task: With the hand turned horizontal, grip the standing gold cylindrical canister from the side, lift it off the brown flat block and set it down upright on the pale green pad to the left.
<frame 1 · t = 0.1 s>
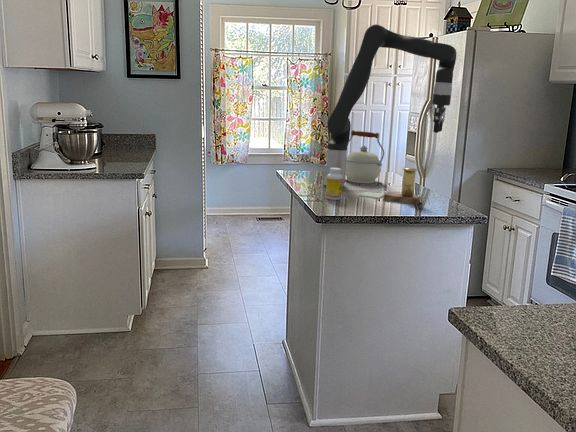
hand: (437, 131, 243), 29 cm above the counter, tool pointing down, fingers open, 8 cm apart
kettle: (358, 181, 284), on the counter
supplement bottle: (333, 199, 236), on the counter
pad: (371, 195, 247), on the counter
gold cylindrical canister: (407, 196, 237), point 2 cm above the counter, touching brown flat block
brown flat block: (401, 201, 238), on the counter
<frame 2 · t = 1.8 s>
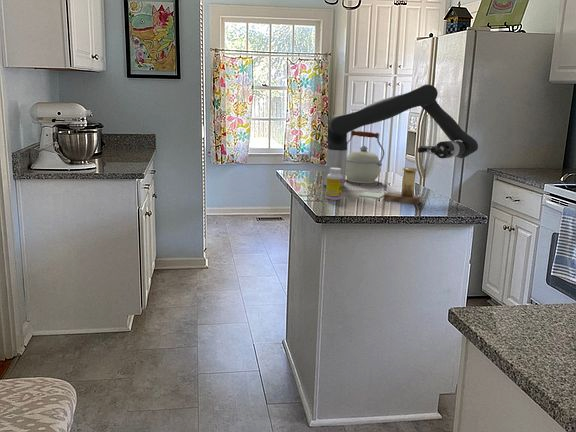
hand: (427, 151, 240), 21 cm above the counter, tool horizontal, fingers open, 8 cm apart
nothing on the counter moved.
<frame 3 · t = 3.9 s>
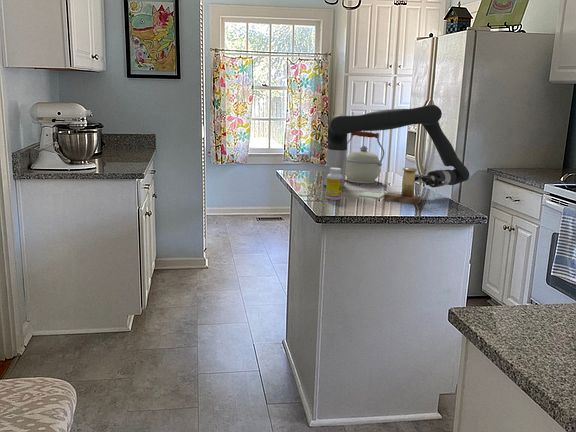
hand: (417, 181, 241), 8 cm above the counter, tool horizontal, fingers open, 8 cm apart
nothing on the counter moved.
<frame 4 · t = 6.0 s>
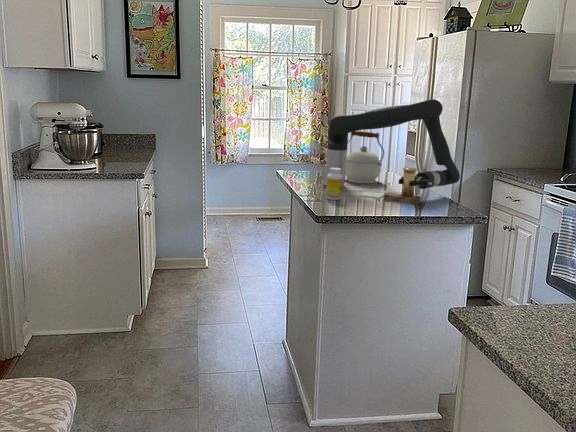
hand: (404, 182, 234), 8 cm above the counter, tool horizontal, fingers closed on gold cylindrical canister, 4 cm apart
gold cylindrical canister: (407, 196, 237), point 2 cm above the counter, touching gripper, brown flat block
everything else where it was.
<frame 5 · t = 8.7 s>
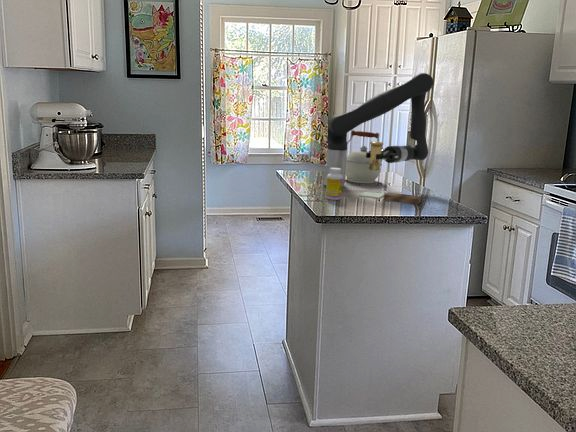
hand: (371, 156, 241), 18 cm above the counter, tool horizontal, fingers closed on gold cylindrical canister, 4 cm apart
gold cylindrical canister: (374, 169, 244), point 12 cm above the counter, touching gripper
everything else where it was.
when the fingers open (8 cm above the counter, at t = 11.3 s): gold cylindrical canister drops 1 cm, resting on pad.
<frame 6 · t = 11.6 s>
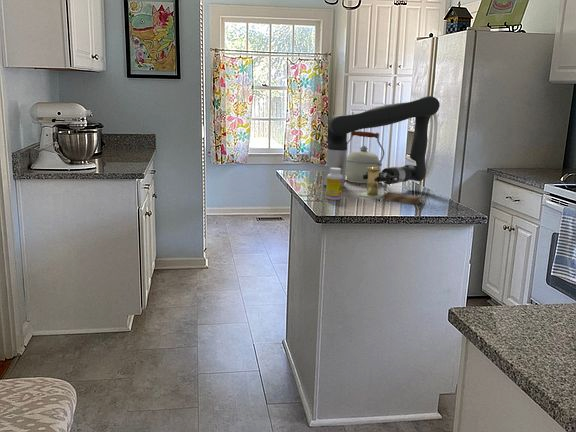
hand: (370, 178, 243), 8 cm above the counter, tool horizontal, fingers open, 7 cm apart
gold cylindrical canister: (372, 194, 246), point 1 cm above the counter, touching pad
everything else where it was.
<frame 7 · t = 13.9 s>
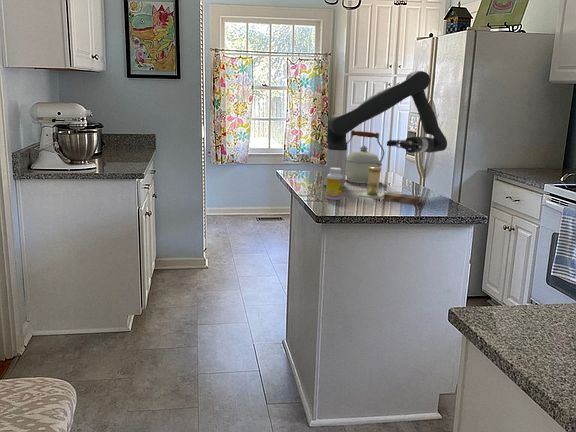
hand: (395, 144, 247), 22 cm above the counter, tool horizontal, fingers open, 8 cm apart
nothing on the counter moved.
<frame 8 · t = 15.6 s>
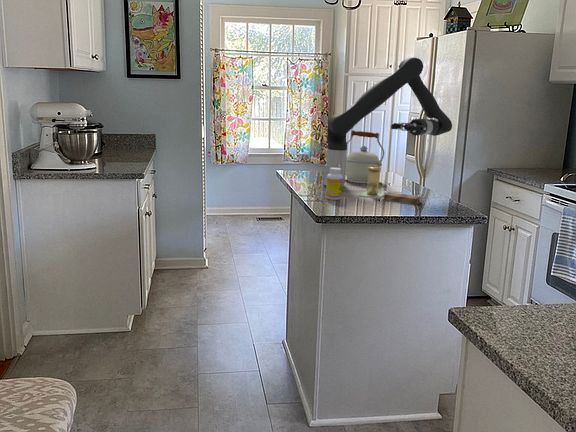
hand: (399, 127, 245), 30 cm above the counter, tool horizontal, fingers open, 8 cm apart
nothing on the counter moved.
at the end: gold cylindrical canister inside the target area on the pad (0.1 cm from its centre), point 0.7 cm above the pad's base; gold cylindrical canister tilted 1°; the gripper is holding nothing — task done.
